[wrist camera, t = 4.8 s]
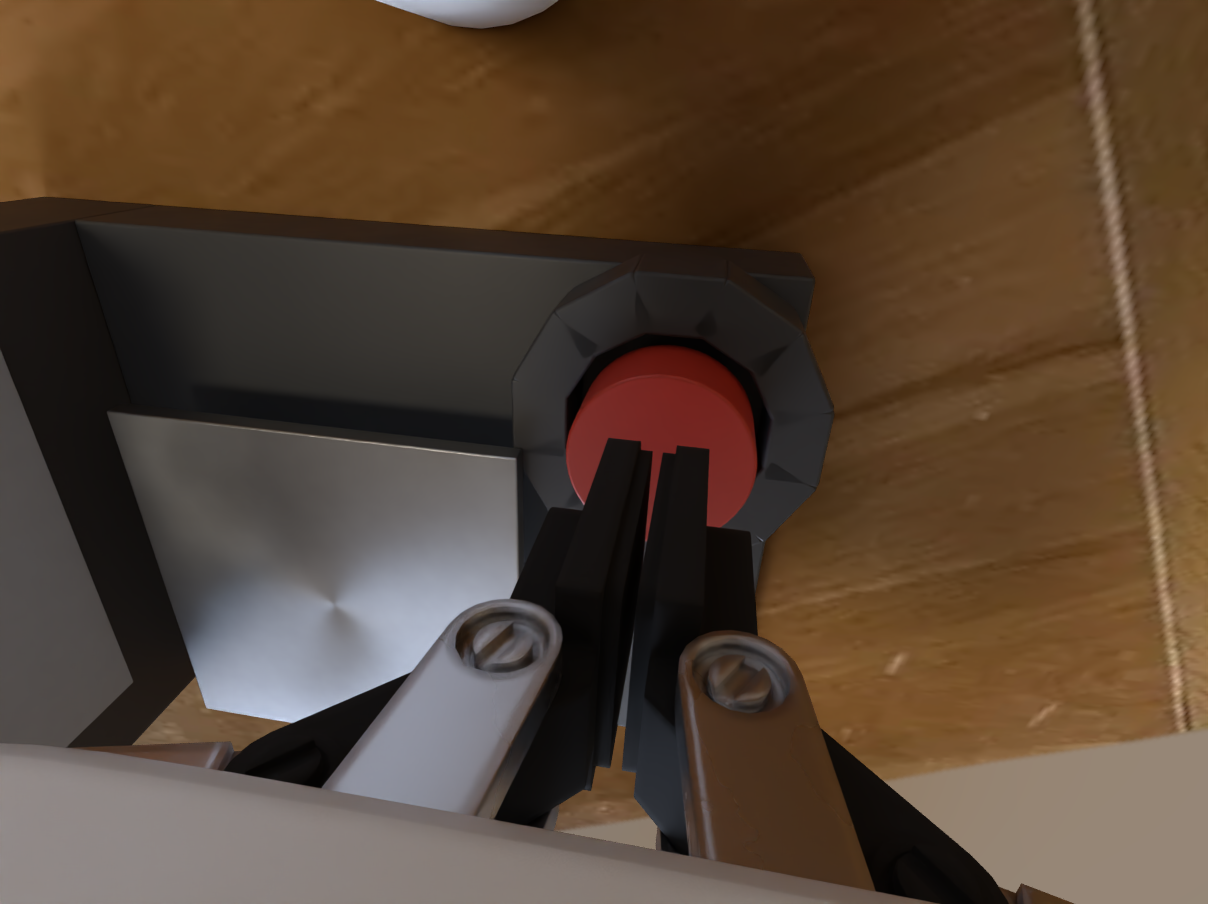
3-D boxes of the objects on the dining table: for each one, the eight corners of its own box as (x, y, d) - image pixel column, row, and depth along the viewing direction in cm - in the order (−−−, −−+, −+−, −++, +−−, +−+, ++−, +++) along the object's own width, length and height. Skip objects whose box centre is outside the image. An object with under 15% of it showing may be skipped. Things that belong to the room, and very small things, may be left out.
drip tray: (522, 447, 14) (516, 458, 14) (527, 747, 19) (522, 763, 18) (122, 402, 15) (104, 410, 15) (217, 695, 20) (205, 708, 19)
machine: (828, 243, 16) (864, 289, 12) (742, 679, 22) (747, 802, 18) (155, 194, 18) (-7, 219, 14) (260, 606, 24) (172, 703, 20)
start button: (766, 352, 13) (771, 385, 11) (740, 508, 15) (742, 555, 13) (584, 336, 13) (566, 365, 12) (579, 489, 15) (563, 532, 13)
